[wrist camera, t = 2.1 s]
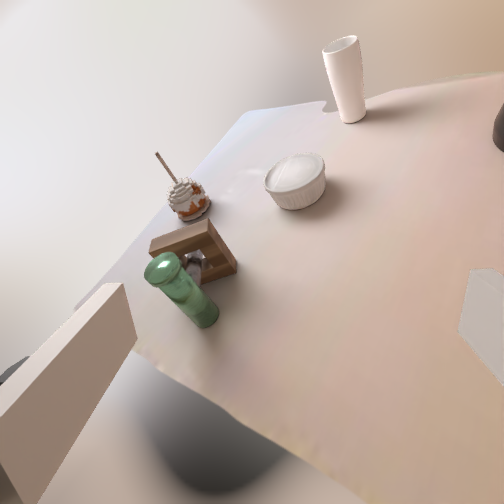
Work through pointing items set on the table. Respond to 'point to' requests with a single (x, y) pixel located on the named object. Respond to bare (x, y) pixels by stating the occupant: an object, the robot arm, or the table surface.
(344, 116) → the drinking glass
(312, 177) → the ramekin
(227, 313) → the table surface
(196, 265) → the green tall capped cylinder
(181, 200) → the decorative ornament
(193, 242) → the brown striped block
